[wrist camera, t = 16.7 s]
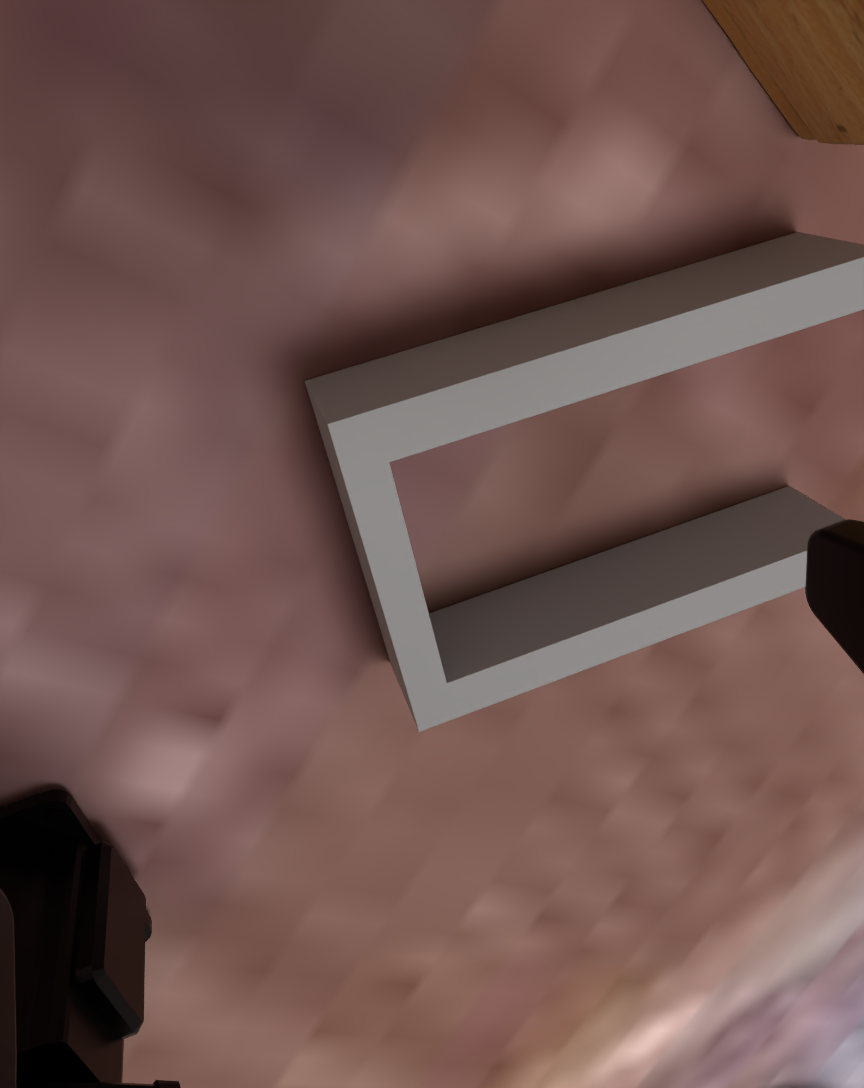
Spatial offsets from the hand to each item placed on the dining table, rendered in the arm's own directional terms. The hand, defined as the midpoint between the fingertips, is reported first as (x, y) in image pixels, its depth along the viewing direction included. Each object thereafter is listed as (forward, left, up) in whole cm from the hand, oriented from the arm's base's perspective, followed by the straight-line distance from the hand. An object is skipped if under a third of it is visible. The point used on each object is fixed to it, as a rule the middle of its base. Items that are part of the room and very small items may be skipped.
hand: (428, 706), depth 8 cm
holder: (+8, -5, -12) cm, 15 cm away
